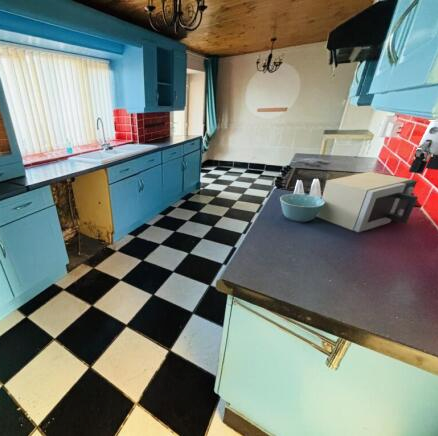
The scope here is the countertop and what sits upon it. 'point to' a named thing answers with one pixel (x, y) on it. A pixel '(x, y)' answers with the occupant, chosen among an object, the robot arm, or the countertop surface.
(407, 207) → the microwave door
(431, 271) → the countertop surface
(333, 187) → the microwave
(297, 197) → the bowl
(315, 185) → the shaker set
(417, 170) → the robot arm
